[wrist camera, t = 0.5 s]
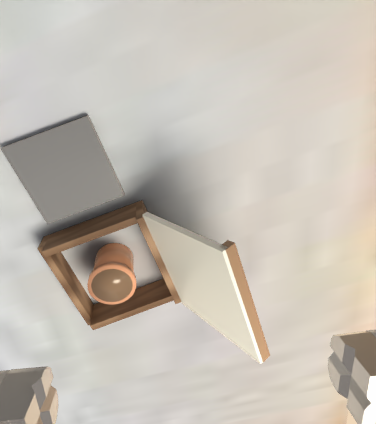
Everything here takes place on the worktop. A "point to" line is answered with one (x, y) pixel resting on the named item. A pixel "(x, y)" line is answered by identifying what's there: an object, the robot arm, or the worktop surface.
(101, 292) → the terracotta pot
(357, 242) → the worktop surface
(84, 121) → the slate tile
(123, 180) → the worktop surface
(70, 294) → the frame
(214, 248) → the cold frame lid
